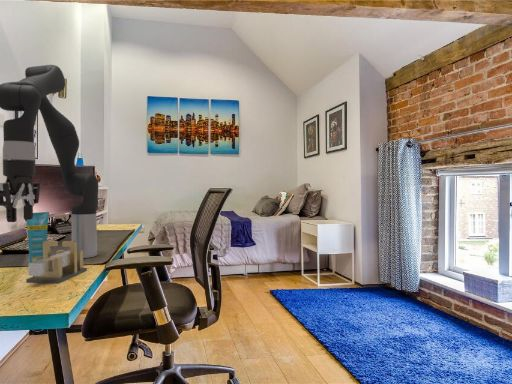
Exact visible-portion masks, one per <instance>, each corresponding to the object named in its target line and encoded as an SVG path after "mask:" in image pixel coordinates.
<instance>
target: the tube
mask: <svg viewBox="0 0 512 384" xmlns="http://www.w3.org/2000/svg"><path fill="white" fill-rule="evenodd" d="M49 217H50V211H42V212H41V211H40V212H33V219H31V220H26V228H27V229H26V230H27V239H28V240H27V241H28V253H29V254H28V255H29V256H28V258H29V263H31V262H32V258H35V257H41V259H43V241H48V240H47V239H48V226H49Z"/></svg>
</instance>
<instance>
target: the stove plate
mask: <svg viewBox="0 0 512 384" xmlns="http://www.w3.org/2000/svg"><path fill="white" fill-rule="evenodd" d="M87 269H88V268H87V267H83V268H82V269H77V272H76V273H70V269H62V277H61V278H59V279H54V278H33V276H30V277H29V278H27V279H25V280H26V284H27V283H29V284H31V283H34V284H37V283H38V284H39V283H40V284H59V283H62V282H64V281H67V280H69V279H71V278H73V277H75V276H76V277H77V276H78V275H80V274H82V273H84V272H86V271H87Z"/></svg>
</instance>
